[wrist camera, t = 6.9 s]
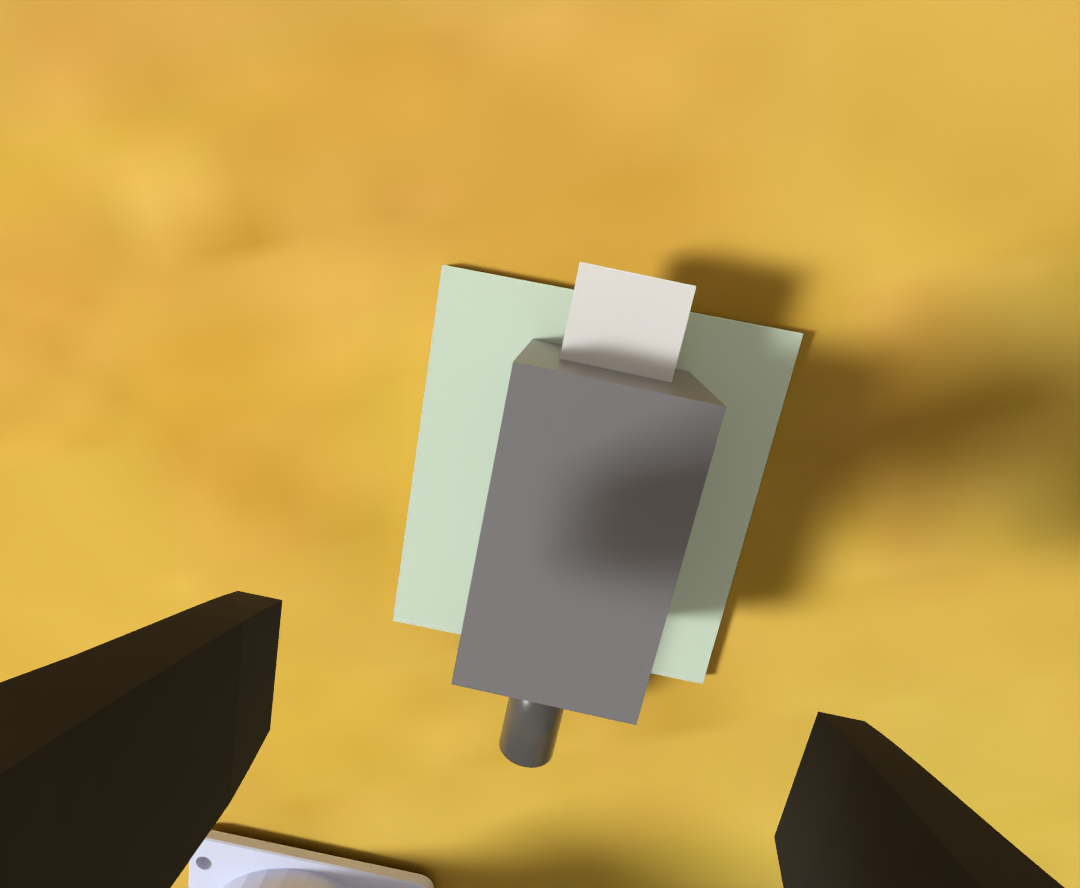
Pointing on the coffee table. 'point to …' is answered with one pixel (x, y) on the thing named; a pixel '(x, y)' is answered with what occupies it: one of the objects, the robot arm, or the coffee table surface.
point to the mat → (473, 430)
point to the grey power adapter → (587, 511)
